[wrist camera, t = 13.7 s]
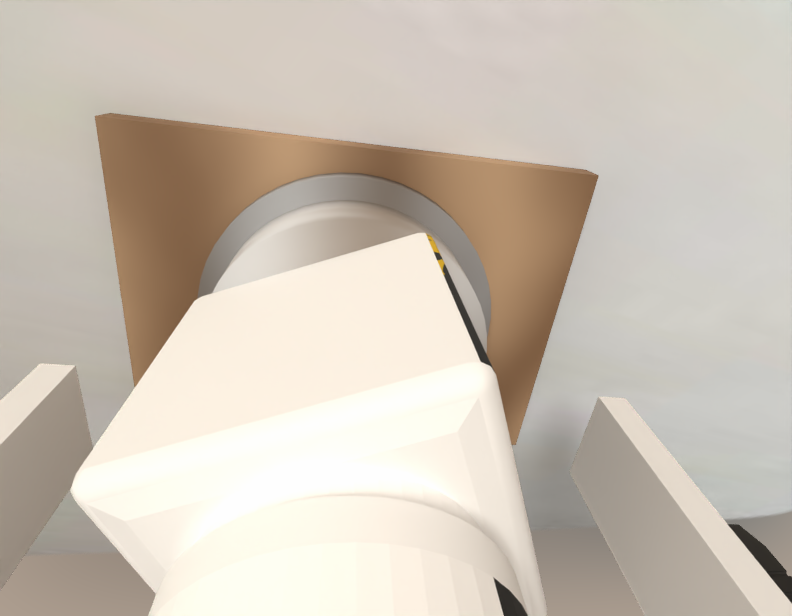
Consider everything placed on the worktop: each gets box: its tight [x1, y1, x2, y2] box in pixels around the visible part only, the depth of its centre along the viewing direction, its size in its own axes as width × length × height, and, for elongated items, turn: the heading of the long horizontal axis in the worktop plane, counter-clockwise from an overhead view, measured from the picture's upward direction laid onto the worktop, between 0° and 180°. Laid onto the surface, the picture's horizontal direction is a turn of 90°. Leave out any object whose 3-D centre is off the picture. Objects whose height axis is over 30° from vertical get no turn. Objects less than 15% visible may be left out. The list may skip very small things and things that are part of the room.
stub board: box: [95, 113, 598, 445], centre depth 17 cm, size 16×12×4 cm
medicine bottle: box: [71, 233, 547, 616], centre depth 10 cm, size 7×7×12 cm
